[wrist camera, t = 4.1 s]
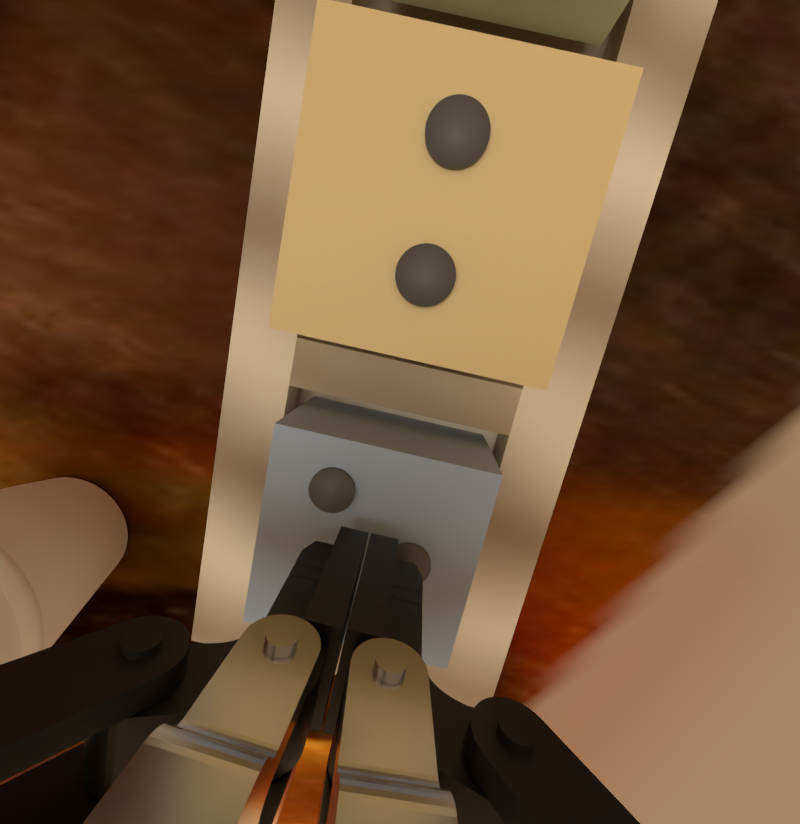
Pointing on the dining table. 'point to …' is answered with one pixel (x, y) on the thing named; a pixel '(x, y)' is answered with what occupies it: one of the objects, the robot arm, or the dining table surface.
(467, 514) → the tile three
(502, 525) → the board
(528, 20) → the tile one
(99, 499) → the soft serve ice cream cone
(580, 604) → the dining table surface
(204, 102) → the dining table surface
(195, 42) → the dining table surface
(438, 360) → the tile two
